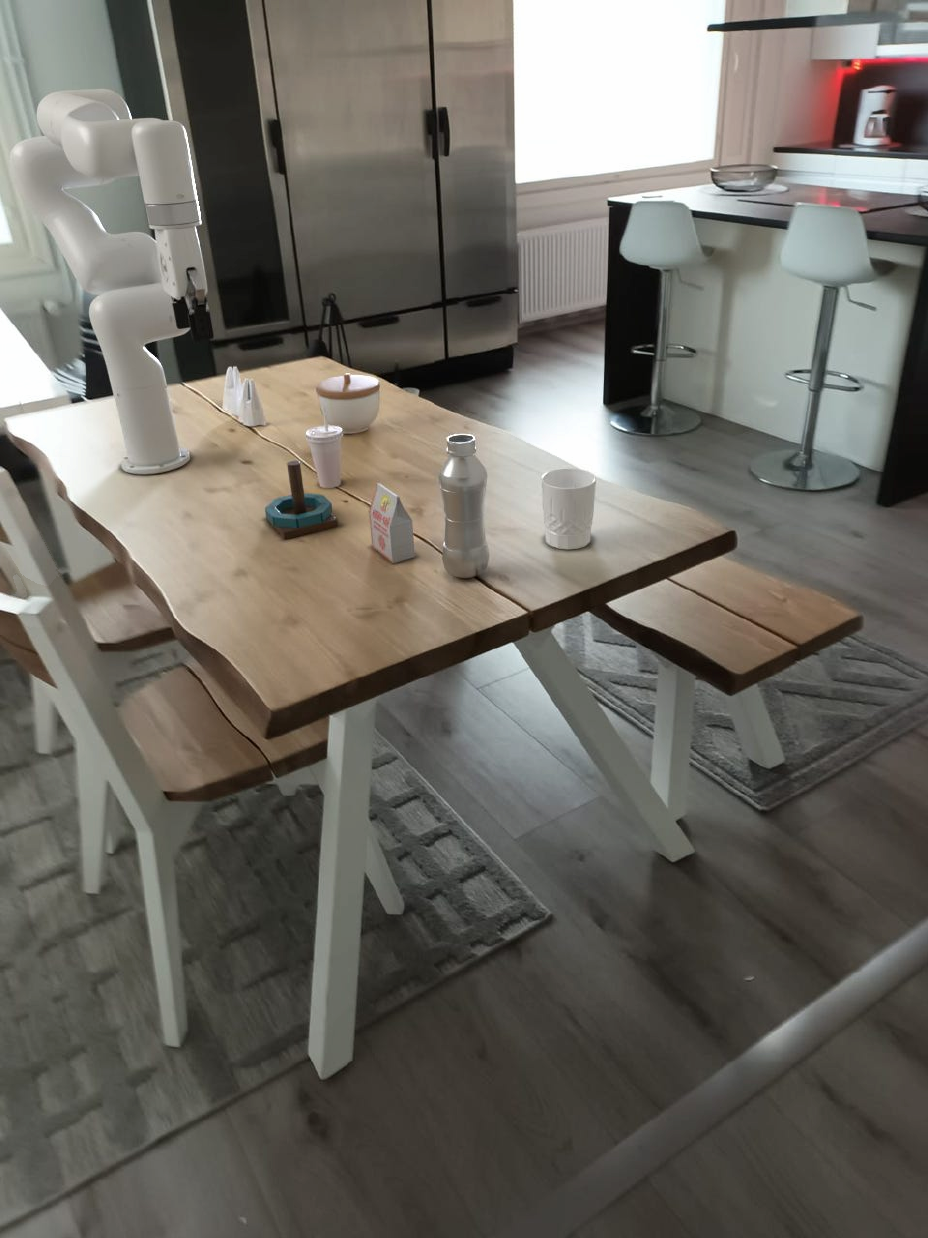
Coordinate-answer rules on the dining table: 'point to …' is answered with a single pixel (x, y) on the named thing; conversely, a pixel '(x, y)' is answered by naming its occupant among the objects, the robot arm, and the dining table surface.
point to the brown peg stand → (300, 506)
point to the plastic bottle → (464, 508)
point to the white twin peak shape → (242, 399)
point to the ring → (299, 520)
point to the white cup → (568, 507)
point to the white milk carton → (390, 526)
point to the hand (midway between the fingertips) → (195, 333)
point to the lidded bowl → (350, 401)
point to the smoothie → (326, 452)
